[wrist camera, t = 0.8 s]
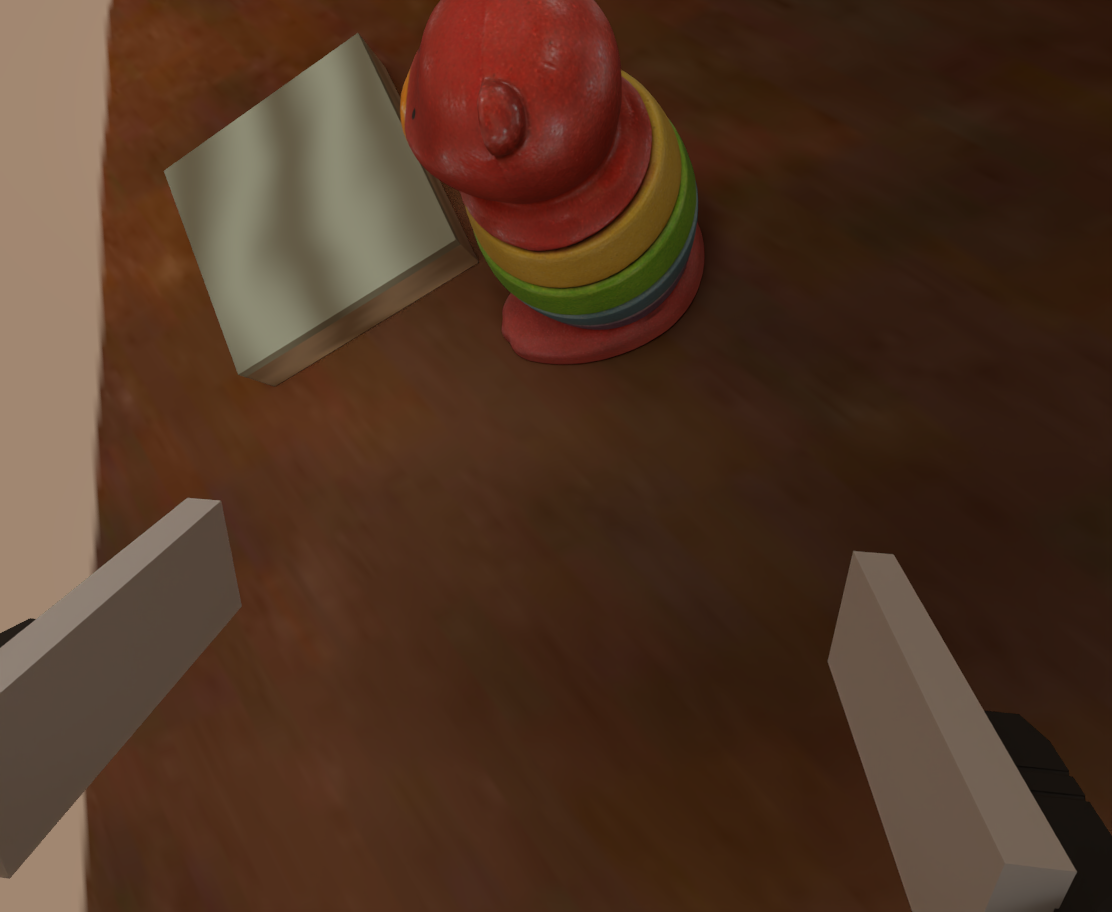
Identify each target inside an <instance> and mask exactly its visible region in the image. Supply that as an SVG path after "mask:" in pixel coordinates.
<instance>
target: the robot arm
mask: <svg viewBox="0 0 1112 912" xmlns="http://www.w3.org/2000/svg"><path fill="white" fill-rule="evenodd" d="M240 608H241V601H240V595H239V590H238V585H237V580H236V575H235V570H234V565H233V560H232V554H231V549H230V544H229V539H228V534H227V529H226V524H225V518H224V513H223V508H222V503H221V501H219V500H206V499H193V498H187V499H185V500H184V501H183V502H182V503H180V504H179V505H178V506H177V507H175V508H174V509H173V510H172V511H171V512H169V513H168V514H167V515H166V516H164V517H163V518H162V519H161V520H159V521H158V522H157V523H156V524H154V525H153V526H152V527H151V528H149V529H148V530H147V531H146V532H144V533H143V534H142V535H141V536H139V537H138V538H137V539H136V540H134V541H133V542H132V543H131V544H129V545H128V546H127V547H126V548H124V549H123V550H122V551H121V552H119V553H118V554H117V555H116V556H114V557H113V558H112V559H111V560H109V561H108V562H107V563H106V564H104V565H103V566H102V567H101V568H99V569H98V570H97V571H96V572H94V573H93V574H92V575H91V576H89V577H88V578H87V579H86V580H84V581H83V582H82V583H81V584H79V585H78V586H77V587H76V588H74V589H73V590H72V591H71V592H70V593H68V594H67V595H66V596H65V597H63V598H62V599H61V600H59V601H58V602H57V603H56V604H55V605H53V606H52V607H51V608H49V609H48V610H47V611H46V612H44V613H43V614H42V615H41V616H39V617H38V618H37V619H28V620H26V621H24V622H22V623H20V624H18V625H16V626H14V627H12V628H10V629H8V630H6V631H4V632H2V633H0V877H3V878H11V877H12V875H13V874H14V873H15V872H16V871H17V869H18V868H19V867H20V866H21V865H22V863H23V862H24V861H25V860H26V859H27V858H28V857H29V855H30V854H31V853H32V852H33V851H34V849H35V848H36V847H37V846H38V845H39V844H40V842H41V841H42V840H43V839H44V838H45V837H46V835H47V834H48V833H49V832H50V831H51V829H52V828H53V827H54V826H55V825H56V824H57V822H58V821H59V820H60V819H61V818H62V817H63V815H64V814H65V813H66V812H67V811H68V810H69V808H70V807H71V806H72V805H73V804H74V802H75V801H76V800H77V799H78V798H79V797H80V795H81V794H82V793H83V792H84V791H85V790H86V788H87V787H88V786H89V785H90V784H91V783H92V781H93V780H94V779H95V778H96V777H97V775H98V774H99V773H100V772H101V771H102V770H103V768H104V767H105V766H106V765H107V764H108V763H109V761H110V760H111V759H112V758H113V757H114V756H115V754H116V753H117V752H118V751H119V750H120V748H121V747H122V746H123V745H124V744H125V743H126V741H127V740H128V739H129V738H130V737H131V736H132V734H133V733H134V732H135V731H136V730H137V729H138V727H139V726H140V725H141V724H142V723H143V721H144V720H145V719H146V718H147V717H148V716H149V714H150V713H151V712H152V711H153V710H154V709H155V707H156V706H157V705H158V704H159V703H160V701H161V700H162V699H163V698H164V697H165V696H166V694H167V693H168V692H169V691H170V690H171V689H172V687H173V686H174V685H175V684H176V683H177V682H178V680H179V679H180V678H181V677H182V676H183V674H184V673H185V672H186V671H187V670H188V669H189V667H190V666H191V665H192V664H193V663H194V662H195V660H196V659H197V658H198V657H199V656H200V655H201V653H202V652H203V651H204V650H205V649H206V647H207V646H208V645H209V644H210V643H211V642H212V640H213V639H214V638H215V637H216V636H217V635H218V633H219V632H220V631H221V630H222V629H223V627H224V626H225V625H226V624H227V623H228V622H229V620H230V619H231V618H232V617H233V616H234V615H235V613H236V612H237V611H238V610H239V609H240ZM828 664H829V667H830V670H831V673H832V676H833V679H834V682H835V685H836V688H837V691H838V694H839V697H840V699H841V702H842V705H843V708H844V711H845V714H846V717H847V720H848V723H849V726H850V729H851V732H852V735H853V738H854V741H855V744H856V747H857V750H858V753H859V756H860V759H861V762H862V765H863V768H864V771H865V774H866V776H867V779H868V782H869V785H870V788H871V791H872V794H873V797H874V800H875V803H876V806H877V809H878V812H879V815H880V818H881V821H882V824H883V827H884V830H885V833H886V836H887V839H888V842H889V845H890V848H891V851H892V853H893V856H894V859H895V862H896V865H897V868H898V871H899V874H900V877H901V880H902V883H903V886H904V889H905V892H906V895H907V898H908V901H909V904H910V907H911V910H912V912H1112V836H1111V834H1110V833H1109V831H1108V830H1107V828H1106V827H1105V825H1104V823H1103V822H1102V820H1101V819H1100V817H1099V816H1098V814H1097V813H1096V811H1095V810H1094V808H1093V807H1092V805H1091V804H1090V802H1086V800H1085V795H1084V793H1083V791H1082V790H1081V788H1080V787H1079V785H1078V784H1077V782H1076V781H1075V779H1074V778H1073V777H1071V776H1069V770H1068V769H1067V767H1066V766H1065V764H1064V763H1063V761H1062V759H1061V758H1060V756H1059V755H1058V753H1057V752H1056V750H1055V749H1054V747H1053V746H1052V744H1051V743H1050V741H1049V740H1048V739H1046V738H1045V737H1044V736H1043V735H1042V734H1041V733H1040V732H1038V731H1037V730H1036V729H1035V728H1034V727H1033V726H1032V725H1030V724H1029V723H1028V722H1027V721H1026V720H1025V719H1024V718H1023V717H1021V716H1020V715H1019V714H1011V713H1001V712H991V711H984V710H983V708H982V707H981V705H980V703H979V701H978V700H977V698H976V696H975V695H974V693H973V691H972V689H971V688H970V686H969V684H968V682H967V681H966V679H965V677H964V675H963V674H962V672H961V670H960V669H959V667H958V665H957V663H956V662H955V660H954V658H953V656H952V655H951V653H950V651H949V650H948V648H947V646H946V644H945V643H944V641H943V639H942V637H941V636H940V634H939V632H938V630H937V629H936V627H935V625H934V624H933V622H932V620H931V618H930V617H929V615H928V613H927V611H926V610H925V608H924V606H923V604H922V603H921V601H920V599H919V598H918V596H917V594H916V592H915V591H914V589H913V587H912V585H911V584H910V582H909V580H908V579H907V577H906V575H905V573H904V572H903V570H902V568H901V566H900V565H899V563H898V561H897V559H896V558H895V556H894V554H883V553H871V552H858V551H853V554H852V558H851V563H850V567H849V571H848V576H847V580H846V584H845V589H844V593H843V597H842V602H841V606H840V610H839V615H838V619H837V623H836V628H835V632H834V636H833V641H832V645H831V649H830V654H829V658H828Z"/></svg>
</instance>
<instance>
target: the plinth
mask: <svg viewBox="0 0 1112 912" xmlns="http://www.w3.org/2000/svg"><path fill="white" fill-rule="evenodd" d="M400 101H401V99H400V97H399V95H398V92H397V90H396V88H395V86H394V84H393V82H392V80H391V78H390V76H389V74H388V72H387V70H386V68H385V66H384V65H383V64H382V63H381V61H380V60H379V59H378V58H377V56H376V55H375V54H374V52H373V51H372V50H371V49H370V47H369V46H368V45H367V44H366V42H365V41H364V40H363V39H362V37H361V36H360V35H359V34H358V33H357V34H356V35H354V36H353V37H352V38H350V39H349V40H347V41H346V42H345V43H343V44H342V45H340V46H339V47H338V48H336V49H335V50H333V51H332V52H330V53H329V54H328V55H326V56H325V57H323V58H322V59H321V60H319V61H318V62H316V63H315V64H314V65H312V66H311V67H309V68H308V69H307V70H305V71H304V72H302V73H301V74H300V75H298V76H297V77H295V78H294V79H292V80H291V81H290V82H288V83H287V84H285V85H284V86H283V87H281V88H280V89H278V90H277V91H276V92H274V93H273V94H271V95H270V96H269V97H267V98H266V99H264V100H263V101H262V102H260V103H259V104H257V105H256V106H255V107H253V108H252V109H250V110H249V111H247V112H246V113H245V114H243V115H242V116H240V117H239V118H238V119H236V120H235V121H233V122H232V123H231V124H229V125H228V126H226V127H225V128H224V129H222V130H221V131H219V132H218V133H217V134H215V135H214V136H212V137H211V138H209V139H208V140H207V141H205V142H204V143H202V144H201V145H200V146H198V147H197V148H195V149H194V150H193V151H191V152H190V153H188V154H187V155H186V156H184V157H183V158H181V159H180V160H179V161H177V162H176V163H174V164H173V165H172V166H170V167H169V168H167V169H166V170H164V173H165V175H166V178H167V181H168V184H169V186H170V189H171V192H172V194H173V197H174V200H175V203H176V205H177V208H178V211H179V214H180V216H181V219H182V222H183V225H184V227H185V230H186V233H187V236H188V238H189V241H190V244H191V246H192V249H193V252H194V255H195V257H196V260H197V263H198V266H199V268H200V271H201V274H202V277H203V279H204V282H205V285H206V288H207V290H208V293H209V296H210V298H211V301H212V304H213V307H214V309H215V312H216V315H217V318H218V320H219V323H220V326H221V329H222V331H223V334H224V337H225V340H226V342H227V345H228V348H229V350H230V353H231V356H232V359H233V361H234V364H235V367H236V370H237V372H238V375H241V376H244V377H247V378H250V379H253V380H256V381H259V382H262V383H265V384H268V385H271V386H274V387H275V386H277V385H278V384H280V383H281V382H283V381H285V380H286V379H288V378H290V377H291V376H293V375H295V374H296V373H298V372H300V371H301V370H303V369H304V368H306V367H308V366H309V365H311V364H313V363H314V362H316V361H318V360H319V359H321V358H323V357H324V356H326V355H327V354H329V353H331V352H332V351H334V350H336V349H337V348H339V347H341V346H342V345H344V344H345V343H347V342H349V341H350V340H352V339H354V338H355V337H357V336H359V335H360V334H362V333H364V332H365V331H367V330H368V329H370V328H372V327H373V326H375V325H377V324H378V323H380V322H382V321H383V320H385V319H387V318H388V317H390V316H391V315H393V314H395V313H396V312H398V311H400V310H401V309H403V308H405V307H406V306H408V305H409V304H411V303H413V302H414V301H416V300H418V299H419V298H421V297H423V296H424V295H426V294H428V293H429V292H431V291H432V290H434V289H436V288H437V287H439V286H441V285H442V284H444V283H446V282H447V281H449V280H451V279H452V278H454V277H455V276H457V275H459V274H460V273H462V272H464V271H465V270H467V269H469V268H470V267H472V266H473V265H475V264H477V263H478V259H477V257H476V255H475V253H474V251H473V249H472V247H471V245H470V243H469V241H468V239H467V237H466V234H465V232H464V230H463V228H462V226H461V224H460V222H459V220H458V218H457V216H456V214H455V211H454V209H453V207H452V205H451V203H450V201H449V199H448V197H447V195H446V193H445V191H444V189H443V186H442V184H441V182H440V180H439V179H437V178H436V177H434V176H433V175H432V174H430V173H429V172H428V171H427V170H426V169H425V168H424V167H423V166H422V165H421V164H420V163H419V161H418V160H417V158H416V157H415V155H414V154H413V152H412V150H411V148H410V146H409V144H408V142H407V140H406V138H405V135H404V133H403V129H402V125H401V116H400Z"/></svg>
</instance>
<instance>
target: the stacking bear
mask: <svg viewBox="0 0 1112 912" xmlns="http://www.w3.org/2000/svg"><path fill="white" fill-rule="evenodd" d="M400 116H401V125H402V129H403V133H404V135H405V138H406V140H407V142H408V144H409V146H410V148H411V150H412V152H413V154H414V155H415V157H416V158H417V160H418V161H419V163H420V164H421V165H422V166H423V167H424V168H425V169H426V170H427V171H428V172H429V173H430V174H432V175H433V176H434V177H436V178H437V179H439V180H440V181H442V182H443V183H445V184H447V185H448V186H450V187H452V188H454V189H456V190H458V191H460V193H461V196H462V200H463V203H464V204H465V208H466V211H467V214H468V217H469V220H470V223H471V226H472V228H473V231H474V235H475V237H476V240H477V243H478V246H479V248H480V250H481V252H482V254H483V256H484V258H485V260H486V261H487V263H488V265H489V266H490V268H491V270H492V271H493V273H494V274H495V276H496V277H497V278H498V280H499V281H500V282H501V283H502V284H503V285H504V287H505V288H506V289H507V290H509V291H510V292H511V293H510V294H509V296H508V298H507V300H506V302H505V304H504V307H503V311H502V312H503V322H502V334H503V336H504V338H505V339H506V340H507V341H508V342H510V343H511V346H512V349H513V350H514V351H515V353H516V354H517V355H519V356H520V357H522V358H524V359H527V360H530V361H534V362H540V363H548V364H579V363H587V362H594V361H599V360H603V359H607V358H611V357H614V356H617V355H620V354H623V353H626V352H628V351H631V350H633V349H636V348H638V347H640V346H642V345H644V344H646V343H648V342H649V341H651V340H653V339H654V338H656V337H658V336H659V335H661V334H662V333H664V332H665V331H667V330H668V329H669V328H670V327H671V326H673V325H674V324H675V323H676V322H677V321H678V320H679V318H680V317H681V316H682V315H683V314H684V313H685V311H686V310H687V309H688V307H689V306H690V304H691V302H692V300H693V299H694V297H695V295H696V293H697V290H698V288H699V285H700V281H701V278H702V274H703V268H704V243H703V238H702V234H701V230H700V227H699V225H698V222H697V216H698V192H697V186H696V181H695V176H694V171H693V167H692V164H691V161H690V158H689V156H688V153H687V151H686V148H685V146H684V144H683V142H682V140H681V138H680V136H679V134H678V132H677V131H676V129H675V127H674V126H673V124H672V123H671V121H670V120H669V119H668V118H667V116H666V114H665V113H664V111H663V110H662V108H661V107H660V105H659V104H658V103H657V101H656V100H655V99H654V98H653V96H652V95H651V94H650V93H649V92H648V91H647V90H646V89H645V88H644V86H643V85H642V84H640V83H639V82H638V81H637V80H636V79H634V78H633V77H631V76H630V75H629V74H627V73H625V72H624V71H622V70H621V63H620V57H619V52H618V46H617V43H616V40H615V37H614V34H613V30H612V28H611V26H610V24H609V22H608V20H607V18H606V17H605V15H604V13H603V12H602V10H601V9H600V7H599V6H598V5H597V4H596V2H595V1H594V0H440V2H439V3H438V4H437V6H436V7H435V8H434V10H433V12H432V14H431V16H430V18H429V20H428V22H427V25H426V28H425V30H424V33H423V37H422V41H421V46H420V48H419V49H418V51H417V53H416V55H415V58H414V60H413V63H412V65H411V68H410V70H409V73H408V75H407V78H406V80H405V82H404V85H403V89H402V93H401V101H400Z"/></svg>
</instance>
